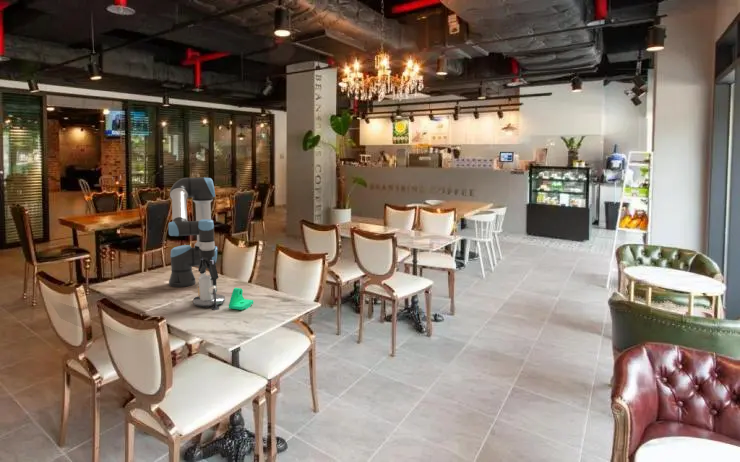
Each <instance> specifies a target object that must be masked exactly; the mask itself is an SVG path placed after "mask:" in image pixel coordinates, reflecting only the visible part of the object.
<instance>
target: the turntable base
mask: <svg viewBox="0 0 740 462" xmlns="http://www.w3.org/2000/svg"><path fill="white" fill-rule="evenodd" d="M220 305H221V304H219V305H217V307H219V306H220ZM198 307H200V308H211V307H214V306H198Z"/></svg>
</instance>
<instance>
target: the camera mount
mask: <svg viewBox="0 0 740 462" xmlns="http://www.w3.org/2000/svg"><path fill="white" fill-rule="evenodd" d="M243 292H244V290H243V288H240V287H234V288H233V289H232V293H231V296H230V299H229V304H228V309H232V310H239V311H240V310H247V309H249V308H250V307H251V305H253V304H254V299H247V298H245V297H244V295H243V294H244V293H243Z"/></svg>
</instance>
